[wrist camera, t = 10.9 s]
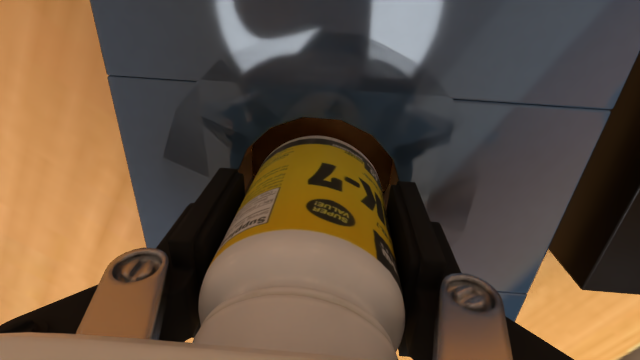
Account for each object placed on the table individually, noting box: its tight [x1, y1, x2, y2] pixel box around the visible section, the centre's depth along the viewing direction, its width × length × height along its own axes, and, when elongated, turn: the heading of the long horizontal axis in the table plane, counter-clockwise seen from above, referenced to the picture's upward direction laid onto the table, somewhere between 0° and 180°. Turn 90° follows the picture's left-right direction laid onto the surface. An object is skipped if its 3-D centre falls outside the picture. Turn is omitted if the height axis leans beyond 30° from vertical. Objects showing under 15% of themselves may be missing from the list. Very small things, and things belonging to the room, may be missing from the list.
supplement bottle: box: [192, 136, 405, 360], centre depth 10 cm, size 5×5×8 cm
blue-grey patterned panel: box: [90, 0, 640, 322], centre depth 13 cm, size 18×16×2 cm
